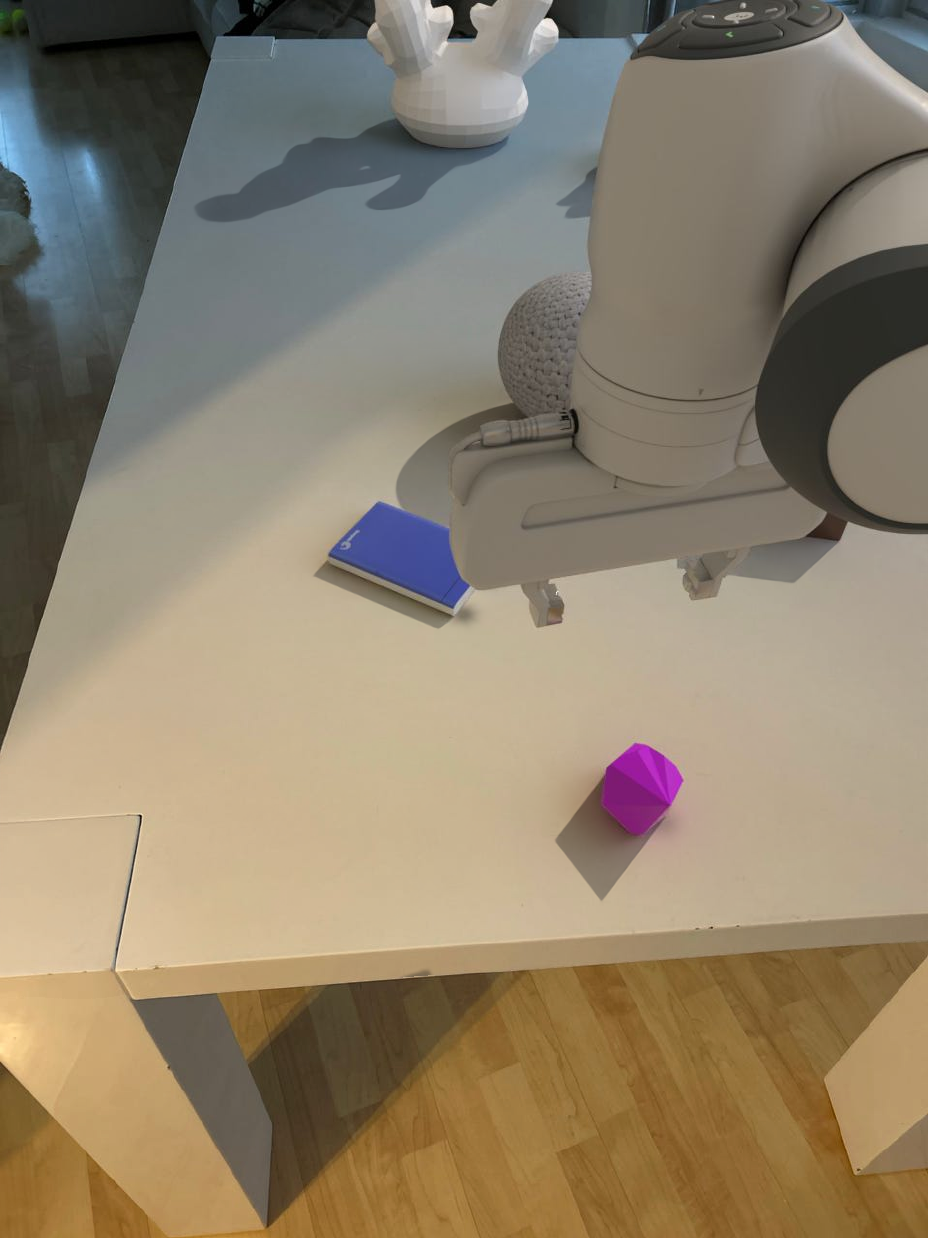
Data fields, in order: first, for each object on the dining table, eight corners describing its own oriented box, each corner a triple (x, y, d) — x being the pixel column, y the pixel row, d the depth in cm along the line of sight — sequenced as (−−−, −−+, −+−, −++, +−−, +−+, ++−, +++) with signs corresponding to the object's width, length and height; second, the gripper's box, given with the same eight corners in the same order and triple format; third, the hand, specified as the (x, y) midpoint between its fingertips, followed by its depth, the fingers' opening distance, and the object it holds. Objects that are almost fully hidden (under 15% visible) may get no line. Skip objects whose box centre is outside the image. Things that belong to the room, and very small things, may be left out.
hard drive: (327, 551, 81) (453, 605, 77) (379, 498, 85) (500, 546, 82) (328, 565, 82) (453, 618, 78) (380, 511, 87) (499, 559, 83)
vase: (371, 159, 142) (357, -136, 116) (370, 106, 157) (357, -166, 132) (561, 157, 144) (588, -134, 118) (542, 105, 159) (562, -163, 134)
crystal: (681, 790, 67) (694, 752, 63) (656, 851, 63) (668, 815, 60) (612, 762, 68) (621, 723, 65) (584, 820, 65) (592, 783, 62)
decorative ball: (537, 478, 90) (551, 337, 79) (470, 397, 100) (473, 260, 89) (669, 440, 95) (699, 301, 84) (593, 366, 104) (610, 232, 93)
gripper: (465, 471, 41) (461, 677, 51) (889, 411, 44) (806, 614, 54) (433, 390, 45) (435, 595, 55) (823, 341, 48) (758, 542, 59)
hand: (622, 604), depth 55 cm, fingers open, 8 cm apart
